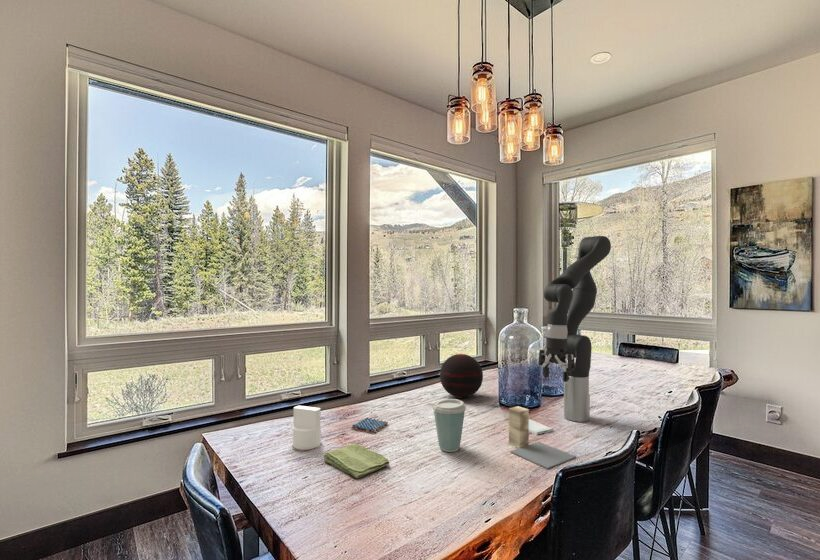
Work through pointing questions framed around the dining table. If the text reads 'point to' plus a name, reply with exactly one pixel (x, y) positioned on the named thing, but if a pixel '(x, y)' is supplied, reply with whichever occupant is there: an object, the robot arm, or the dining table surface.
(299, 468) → the dining table surface
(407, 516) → the dining table surface
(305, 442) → the white lidded canister
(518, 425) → the maple block
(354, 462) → the washcloth
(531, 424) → the hard drive
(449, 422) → the disposable coffee cup
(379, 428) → the woven mat
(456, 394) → the decorative orb
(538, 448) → the felt mat
